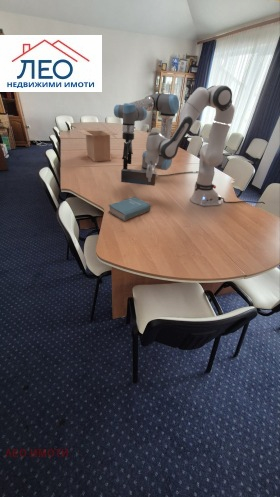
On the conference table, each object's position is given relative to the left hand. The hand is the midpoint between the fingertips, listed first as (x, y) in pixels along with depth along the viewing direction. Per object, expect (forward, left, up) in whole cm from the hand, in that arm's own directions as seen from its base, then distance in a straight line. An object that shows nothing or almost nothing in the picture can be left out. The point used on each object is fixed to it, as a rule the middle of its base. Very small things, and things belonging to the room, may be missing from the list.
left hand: (127, 166), depth 153 cm
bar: (-8, +2, -11) cm, 13 cm away
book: (-1, +24, -23) cm, 33 cm away
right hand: (-16, +4, -8) cm, 18 cm away
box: (+26, -106, -23) cm, 112 cm away
